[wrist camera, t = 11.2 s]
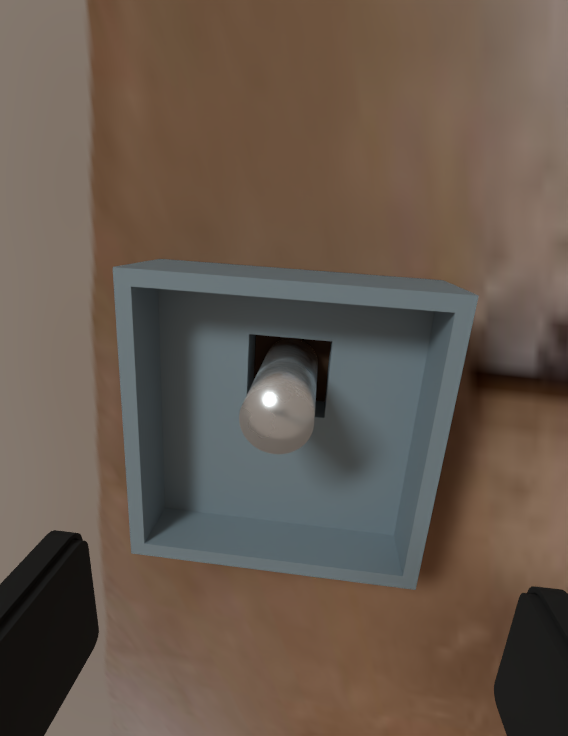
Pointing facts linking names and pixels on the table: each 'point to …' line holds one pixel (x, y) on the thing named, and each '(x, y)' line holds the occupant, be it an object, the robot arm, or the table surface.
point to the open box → (331, 422)
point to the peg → (282, 398)
